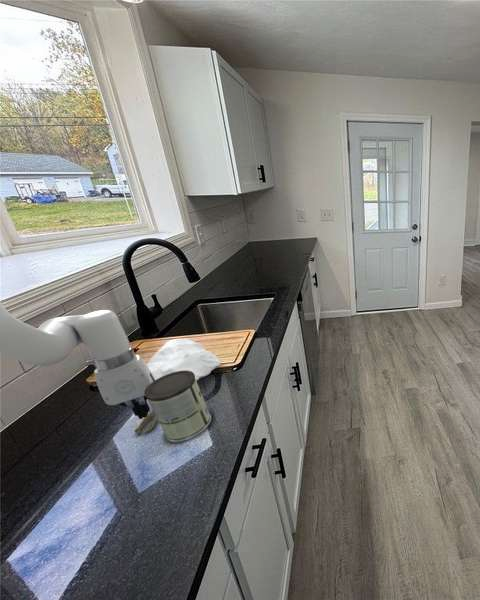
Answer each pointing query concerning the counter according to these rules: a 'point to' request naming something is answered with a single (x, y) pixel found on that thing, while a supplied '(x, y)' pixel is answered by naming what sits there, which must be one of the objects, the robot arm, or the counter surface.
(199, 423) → the coffee can
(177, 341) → the crumpled cloth
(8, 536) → the counter surface
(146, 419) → the tongs
